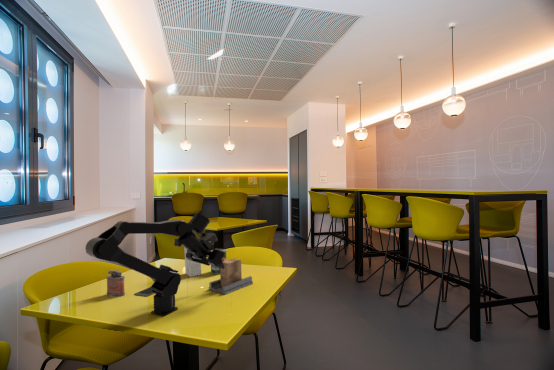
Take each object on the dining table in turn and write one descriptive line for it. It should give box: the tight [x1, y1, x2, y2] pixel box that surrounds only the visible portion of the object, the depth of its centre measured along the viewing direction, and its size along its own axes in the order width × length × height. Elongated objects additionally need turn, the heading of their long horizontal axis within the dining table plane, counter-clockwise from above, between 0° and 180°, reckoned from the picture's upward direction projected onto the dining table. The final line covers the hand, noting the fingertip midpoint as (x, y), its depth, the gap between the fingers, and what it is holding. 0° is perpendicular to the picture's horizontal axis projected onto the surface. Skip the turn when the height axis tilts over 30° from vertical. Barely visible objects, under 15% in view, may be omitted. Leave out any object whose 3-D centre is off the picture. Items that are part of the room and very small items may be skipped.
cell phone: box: [133, 286, 155, 298], centre depth 121 cm, size 7×14×1 cm, turn 159°
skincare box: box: [183, 246, 202, 278], centre depth 143 cm, size 8×6×15 cm
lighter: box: [106, 269, 126, 298], centre depth 117 cm, size 8×3×10 cm, turn 74°
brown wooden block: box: [219, 258, 243, 286], centre depth 123 cm, size 8×4×10 cm, turn 141°
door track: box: [208, 275, 254, 296], centre depth 123 cm, size 16×10×3 cm, turn 141°
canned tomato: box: [210, 248, 227, 275], centre depth 146 cm, size 8×8×11 cm
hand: (216, 266), depth 117 cm, fingers open, 9 cm apart
